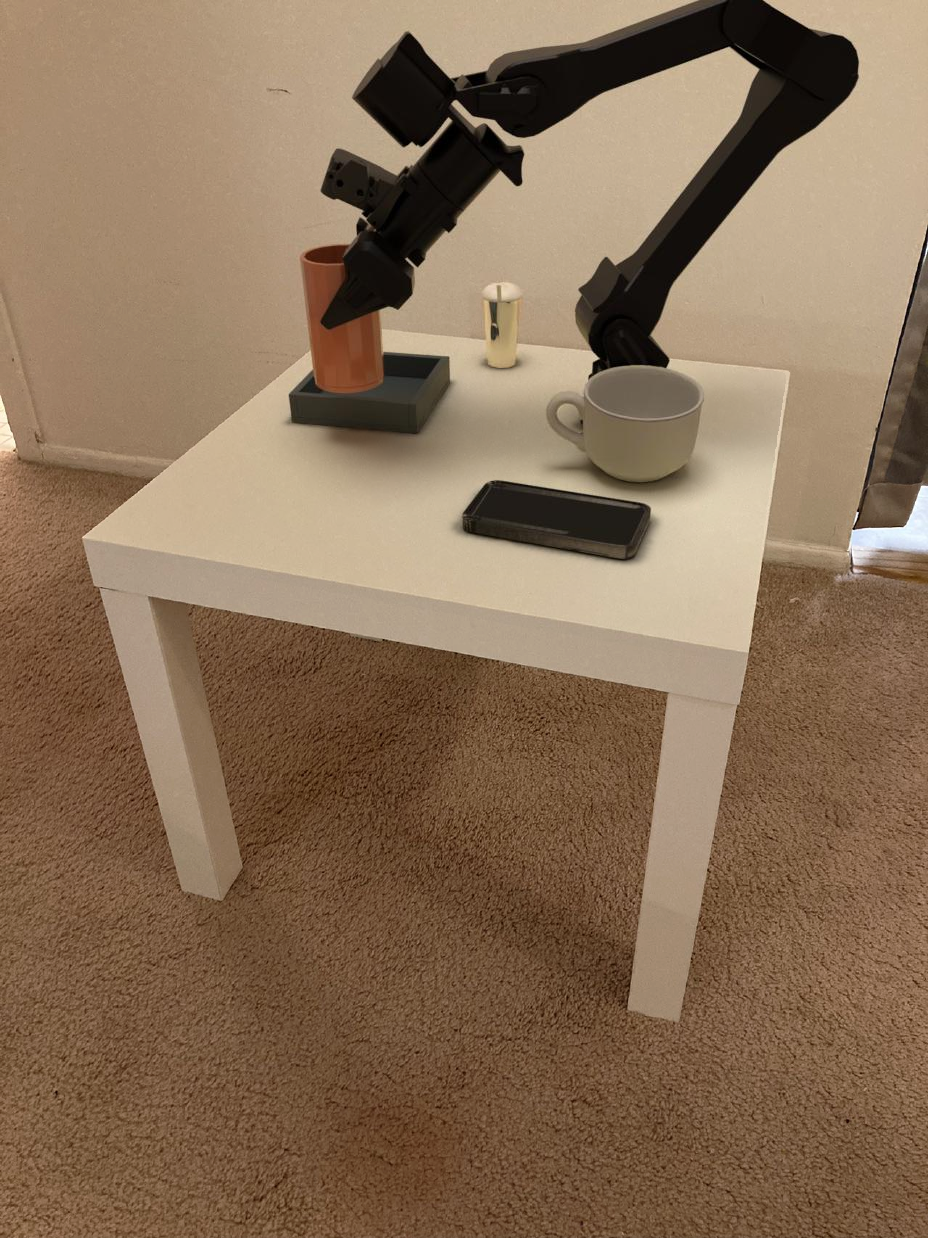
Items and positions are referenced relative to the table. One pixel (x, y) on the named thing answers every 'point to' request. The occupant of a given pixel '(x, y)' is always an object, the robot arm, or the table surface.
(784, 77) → the robot arm
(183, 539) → the table surface
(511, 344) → the milkshake
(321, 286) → the cup
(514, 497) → the phone
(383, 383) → the tray
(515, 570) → the table surface
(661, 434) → the teacup
